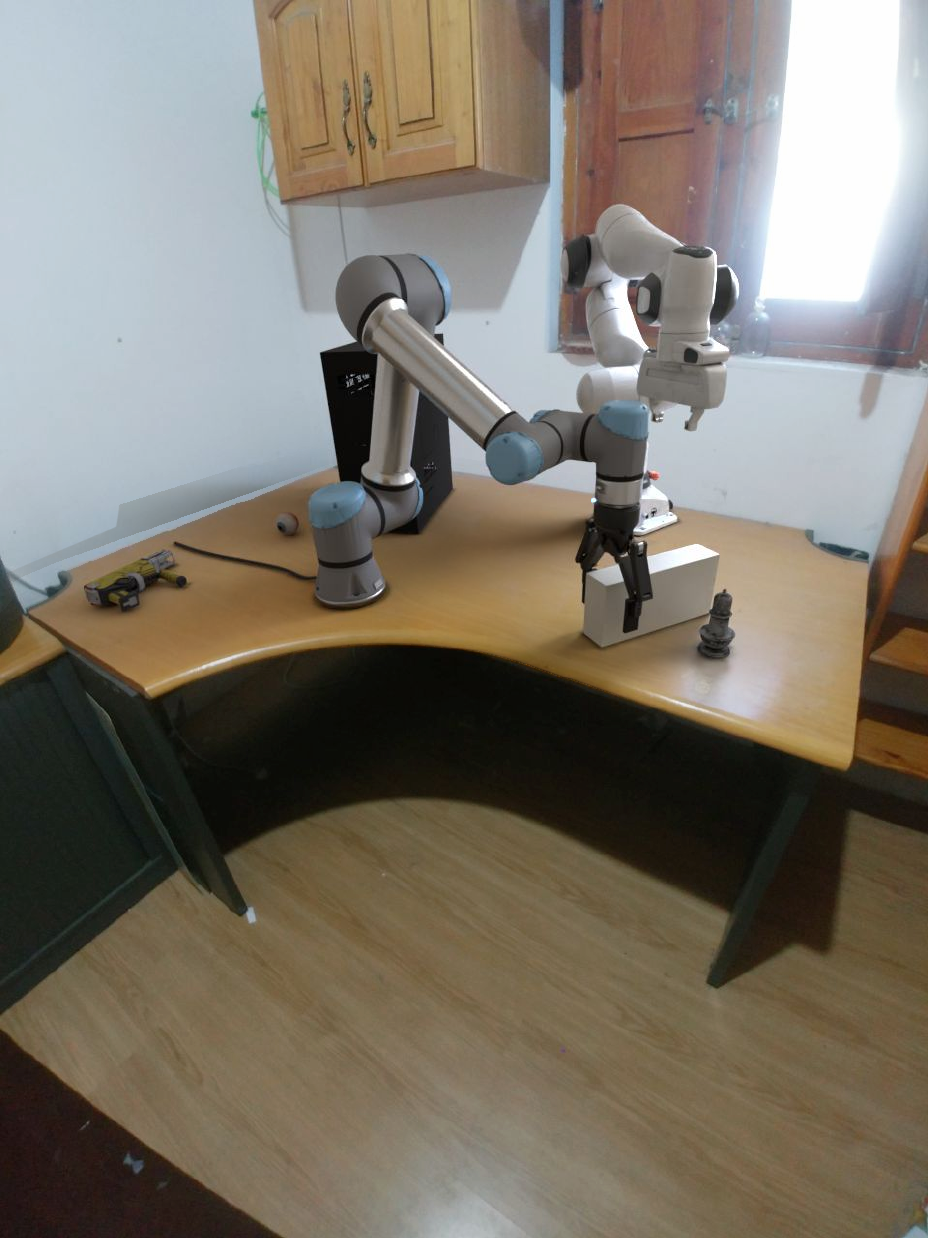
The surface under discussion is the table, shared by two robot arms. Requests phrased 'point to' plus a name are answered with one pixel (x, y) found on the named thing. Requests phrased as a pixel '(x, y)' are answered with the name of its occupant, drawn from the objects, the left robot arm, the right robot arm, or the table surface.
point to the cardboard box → (355, 428)
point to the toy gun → (132, 581)
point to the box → (676, 594)
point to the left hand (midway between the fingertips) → (608, 615)
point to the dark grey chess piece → (717, 628)
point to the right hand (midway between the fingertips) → (672, 426)
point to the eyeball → (287, 523)
